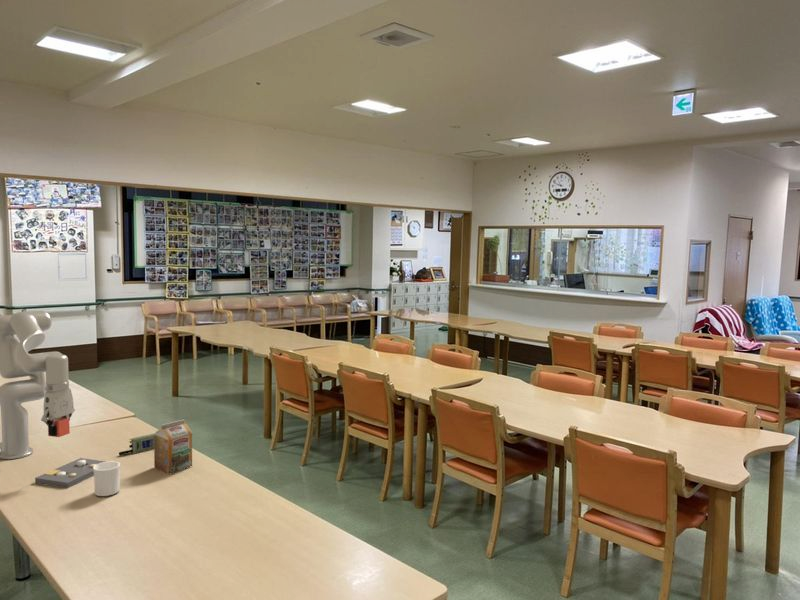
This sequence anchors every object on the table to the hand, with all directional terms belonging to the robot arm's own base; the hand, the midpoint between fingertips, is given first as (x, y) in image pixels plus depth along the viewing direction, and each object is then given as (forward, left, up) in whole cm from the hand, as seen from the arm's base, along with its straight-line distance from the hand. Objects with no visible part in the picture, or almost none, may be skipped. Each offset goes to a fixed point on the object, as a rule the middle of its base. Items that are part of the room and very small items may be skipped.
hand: (58, 432), depth 222 cm
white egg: (+1, +10, -17) cm, 19 cm away
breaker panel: (+2, +5, -18) cm, 19 cm away
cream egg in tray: (+1, 0, -18) cm, 18 cm away
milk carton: (+33, +24, -18) cm, 45 cm away
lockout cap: (0, 0, -1) cm, 1 cm away
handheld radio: (+10, +38, -19) cm, 44 cm away
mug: (+26, -4, -18) cm, 32 cm away
